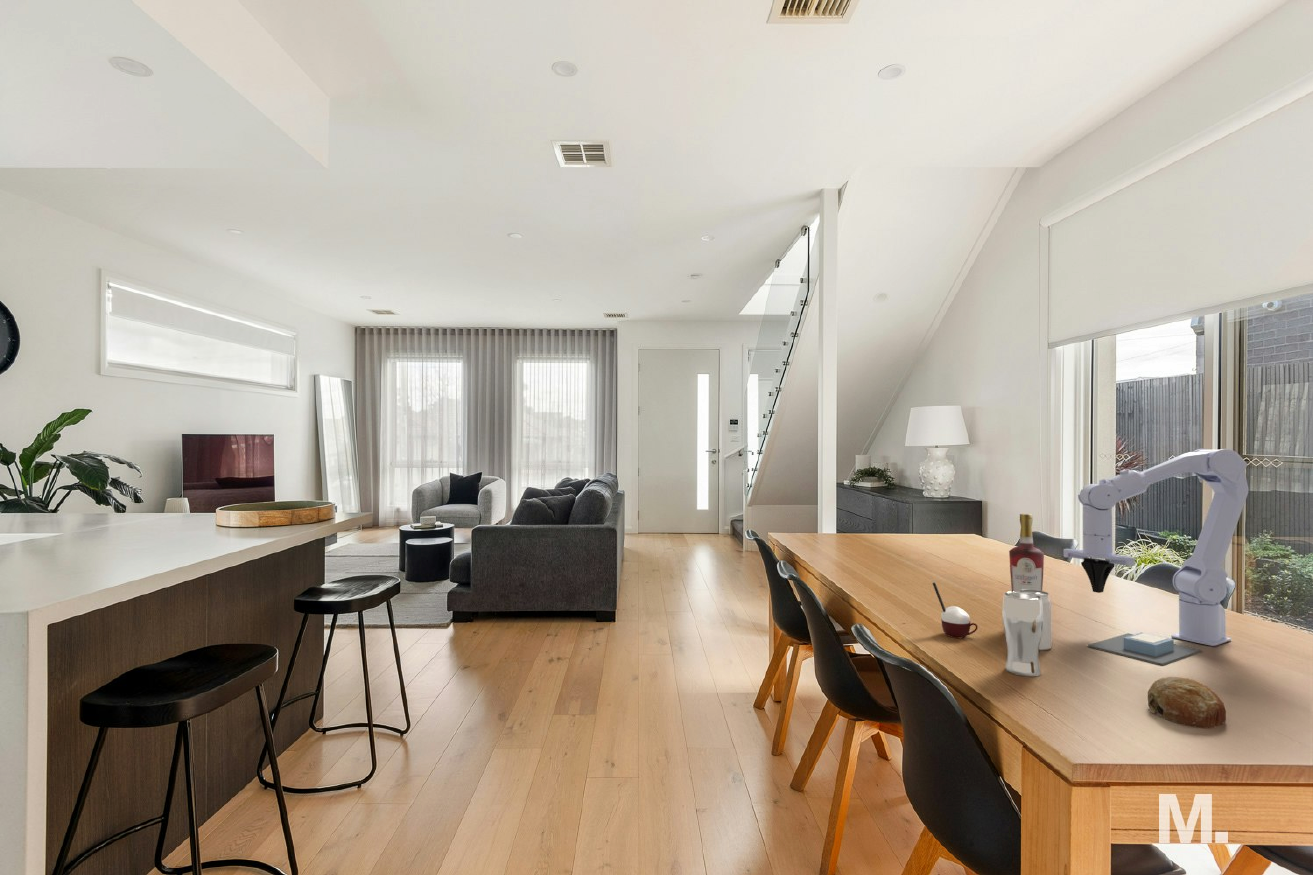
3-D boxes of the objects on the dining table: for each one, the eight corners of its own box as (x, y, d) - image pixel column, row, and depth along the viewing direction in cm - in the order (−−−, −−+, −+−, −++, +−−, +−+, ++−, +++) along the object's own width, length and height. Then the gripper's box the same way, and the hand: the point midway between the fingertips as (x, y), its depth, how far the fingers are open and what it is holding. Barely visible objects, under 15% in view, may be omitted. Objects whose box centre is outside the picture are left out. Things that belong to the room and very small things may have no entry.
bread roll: (1142, 725, 109) (1123, 683, 109) (1191, 697, 110) (1173, 656, 110) (1196, 752, 99) (1175, 707, 99) (1249, 722, 100) (1229, 677, 100)
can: (1056, 651, 137) (1055, 596, 137) (1023, 649, 138) (1023, 594, 139) (1044, 642, 143) (1044, 589, 144) (1013, 641, 145) (1012, 588, 145)
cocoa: (979, 638, 148) (982, 587, 148) (967, 643, 144) (970, 590, 144) (939, 628, 155) (941, 579, 155) (927, 632, 151) (929, 581, 151)
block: (1141, 631, 142) (1173, 638, 137) (1141, 643, 142) (1173, 650, 137) (1123, 636, 138) (1155, 644, 133) (1123, 648, 138) (1156, 656, 133)
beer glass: (1038, 667, 127) (1038, 592, 128) (1047, 679, 121) (1047, 600, 121) (999, 663, 130) (999, 590, 130) (1006, 675, 123) (1006, 597, 123)
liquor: (1045, 628, 154) (1044, 513, 155) (1044, 636, 148) (1043, 516, 149) (1010, 624, 158) (1009, 512, 159) (1008, 631, 152) (1007, 514, 153)
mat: (1128, 634, 150) (1128, 633, 150) (1201, 651, 137) (1201, 649, 137) (1087, 646, 141) (1087, 644, 141) (1162, 665, 128) (1162, 663, 129)
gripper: (1056, 532, 155) (1056, 587, 155) (1123, 539, 143) (1124, 600, 142) (1072, 530, 159) (1072, 584, 159) (1139, 537, 146) (1139, 596, 146)
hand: (1098, 591), depth 151 cm, fingers closed
